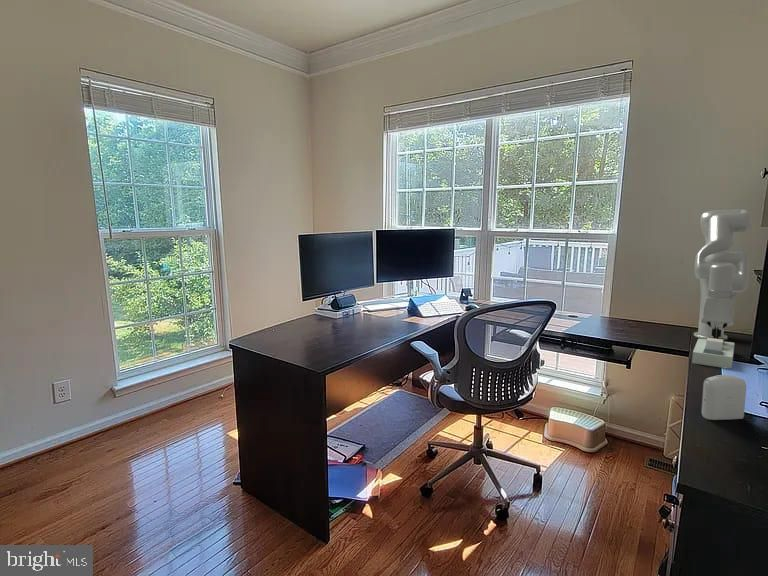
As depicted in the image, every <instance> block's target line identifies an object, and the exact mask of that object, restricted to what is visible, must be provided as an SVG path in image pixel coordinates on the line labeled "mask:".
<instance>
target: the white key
mask: <svg viewBox="0 0 768 576" xmlns="http://www.w3.org/2000/svg"><path fill="white" fill-rule="evenodd" d="M706 340H707V342H706V346H712V347H720V348H722V347H723V339H714V338H707V339H706Z"/></svg>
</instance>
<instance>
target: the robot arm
mask: <svg viewBox="0 0 768 576" xmlns="http://www.w3.org/2000/svg"><path fill="white" fill-rule="evenodd" d="M699 223H700V228H701V232H702V235H703V237H704V240H705V245H704V246H702V247H701V248H700V249H699V251H698V252H697V254H696V255H695V259H694V271H693V272H694V276H695V278H697V279H698V280H699V285H700V286H699V287H700V300H699V301H700V304H699V314H698V315H699V317H698V327H697V328H698V330H697V331H695V332H693V336H694V337H695V338H698V339H706V340H707V338H708V337H709V336H713V338H714V339H715V338H716V339H718V338H719V337H723V338H724V341H727V340H728V335H726V334H724V332H725V331H724V330H725V328H726V327H732V326H735V323H734V322H735V321H734V319H735V300H734V298H733V297H736V296H737V293H743V292H745V291H747V290H748V288H749V281H750V276H749V275H750V255H749V252H748V251H747V250H746V249H744V248H731V247H732V246H733V244H734V233H747V232H749V230H750V229H751V226H752V216H751V213H750V212H749V211H748V210H747V209H741V208H740V209H716V210H715V209H714V210H708V211H705V212H703V213H702V214H701V216H700V220H699Z"/></svg>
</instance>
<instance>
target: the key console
mask: <svg viewBox="0 0 768 576" xmlns="http://www.w3.org/2000/svg"><path fill="white" fill-rule="evenodd" d="M706 342H707V339H702V338H698V339H697V341H696V343H695V346H694V348H693V351H692V360H691V363H692V364H695V365H702V366H703V365H704V366H709V367H717V368H722V367H726V368H725V369H728V368H732V369H733V362H734V353H735V352H734V351H735V342H732V341H724V342H723V347H722V353H721V355H717V354H710V353H704V352H705V347H706Z"/></svg>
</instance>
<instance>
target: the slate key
mask: <svg viewBox="0 0 768 576" xmlns="http://www.w3.org/2000/svg"><path fill="white" fill-rule="evenodd" d="M704 353H710V354H717V355H721V353H722V348H720V347H712V346H706V347H705V352H704Z"/></svg>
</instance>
